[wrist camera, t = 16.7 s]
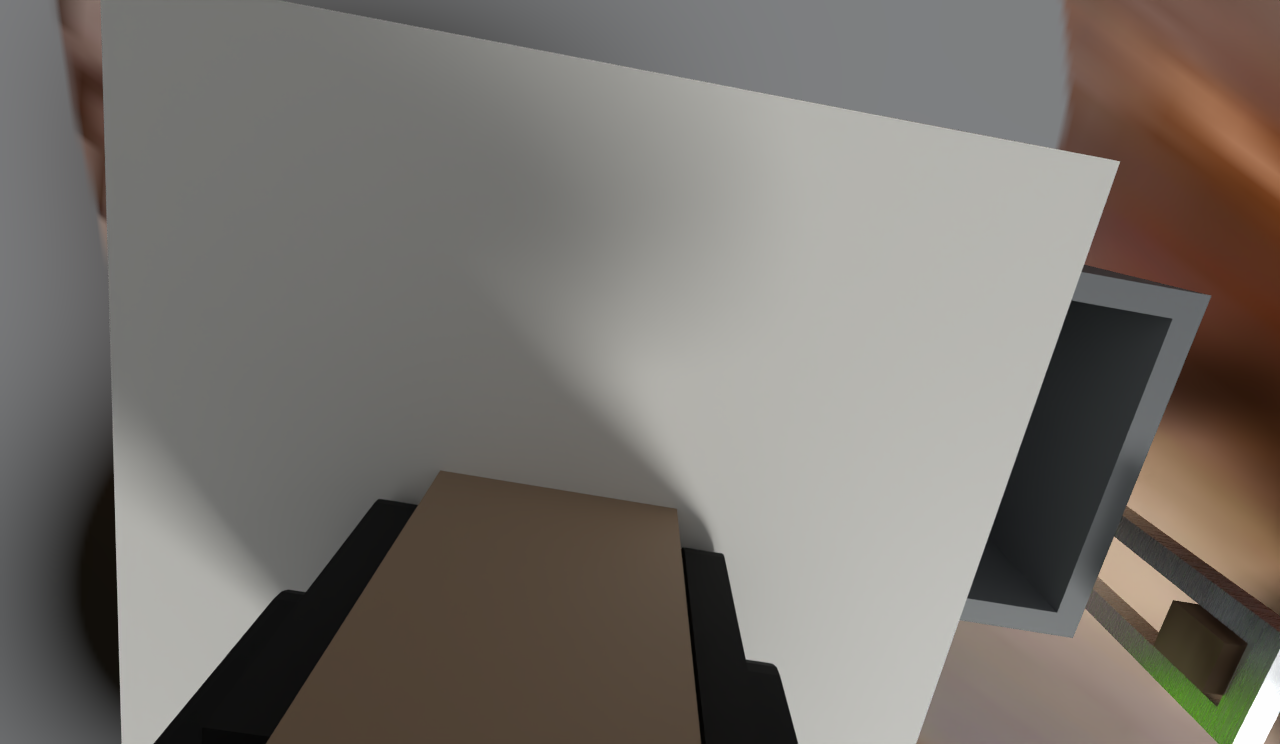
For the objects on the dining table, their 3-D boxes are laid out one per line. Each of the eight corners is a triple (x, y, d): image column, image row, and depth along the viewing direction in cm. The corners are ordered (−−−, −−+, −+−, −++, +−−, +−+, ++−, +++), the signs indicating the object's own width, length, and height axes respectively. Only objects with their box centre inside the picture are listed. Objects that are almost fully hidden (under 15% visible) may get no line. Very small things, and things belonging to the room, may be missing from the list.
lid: (209, 4, 9) (-862, -372, 3) (1027, 160, 10) (1826, 169, 3) (201, 836, 13) (-246, 1528, 7) (789, 915, 14) (928, 1630, 7)
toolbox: (840, 219, 32) (968, 259, 20) (1151, 276, 33) (1465, 350, 20) (767, 508, 36) (835, 694, 24) (1047, 553, 37) (1256, 757, 24)
